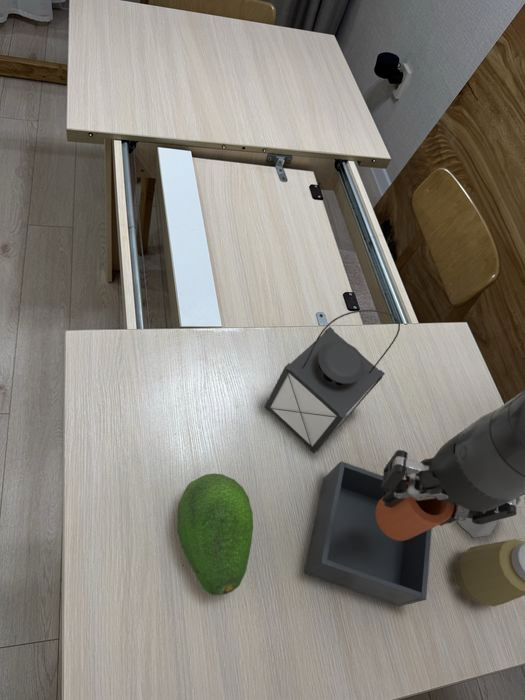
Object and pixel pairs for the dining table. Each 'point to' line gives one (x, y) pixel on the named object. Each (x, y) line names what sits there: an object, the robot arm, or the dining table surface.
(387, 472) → the robot arm
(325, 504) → the basin
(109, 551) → the dining table surface
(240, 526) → the fruit
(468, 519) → the flask
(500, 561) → the squeeze bottle
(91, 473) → the dining table surface
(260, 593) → the dining table surface
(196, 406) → the dining table surface
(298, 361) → the lantern
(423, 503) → the jar
